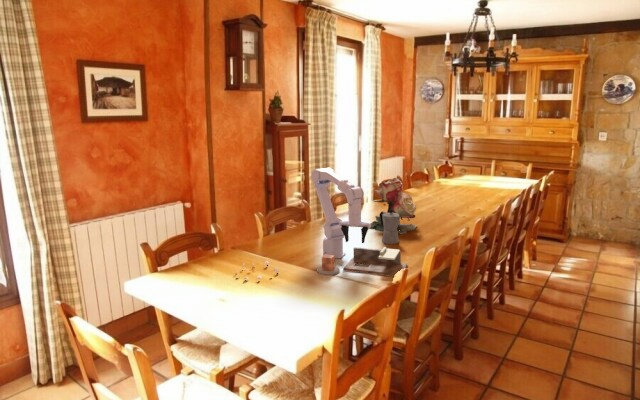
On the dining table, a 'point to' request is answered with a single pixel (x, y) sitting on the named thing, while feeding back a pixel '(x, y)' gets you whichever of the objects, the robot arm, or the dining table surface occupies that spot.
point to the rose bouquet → (395, 205)
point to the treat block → (328, 262)
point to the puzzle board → (374, 263)
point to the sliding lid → (388, 254)
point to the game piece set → (259, 276)
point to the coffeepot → (390, 227)
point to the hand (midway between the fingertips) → (355, 242)
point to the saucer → (333, 272)
